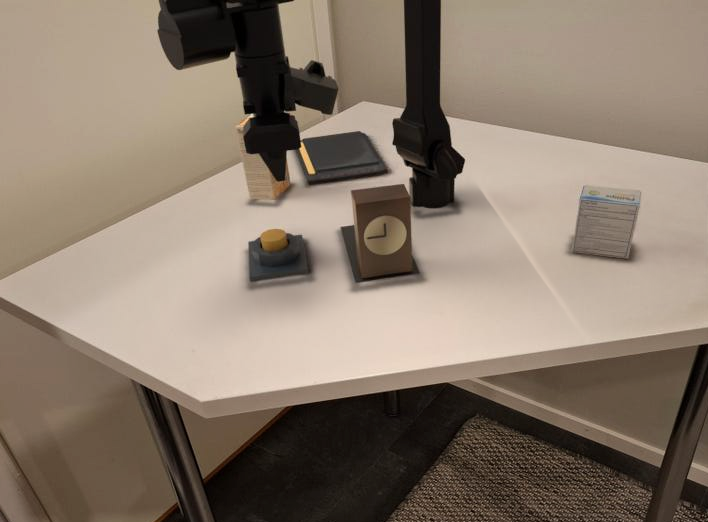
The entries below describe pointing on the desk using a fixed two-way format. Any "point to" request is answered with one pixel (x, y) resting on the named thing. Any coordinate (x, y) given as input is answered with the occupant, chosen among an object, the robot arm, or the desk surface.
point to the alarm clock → (382, 230)
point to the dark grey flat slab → (351, 249)
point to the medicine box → (606, 221)
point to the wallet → (339, 158)
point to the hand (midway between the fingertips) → (280, 180)
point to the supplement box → (259, 172)
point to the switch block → (277, 259)
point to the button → (274, 240)
